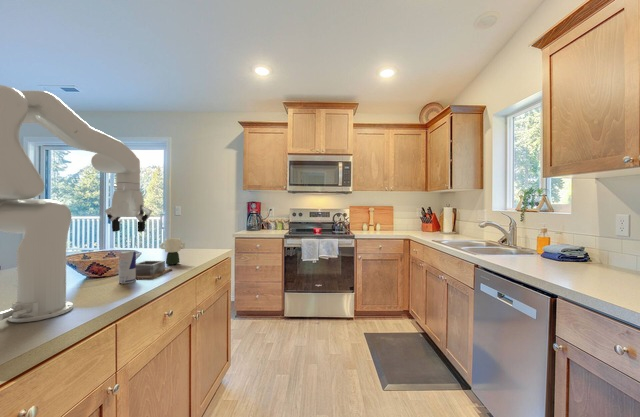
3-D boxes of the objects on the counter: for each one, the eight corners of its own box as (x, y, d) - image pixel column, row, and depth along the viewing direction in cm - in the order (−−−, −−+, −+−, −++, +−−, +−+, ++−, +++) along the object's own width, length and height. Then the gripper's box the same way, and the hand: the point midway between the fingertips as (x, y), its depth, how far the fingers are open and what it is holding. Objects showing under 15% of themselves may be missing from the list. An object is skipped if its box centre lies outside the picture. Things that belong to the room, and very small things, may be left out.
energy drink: (138, 280, 108) (139, 250, 108) (128, 284, 103) (128, 252, 103) (126, 279, 109) (126, 250, 108) (115, 283, 103) (115, 252, 103)
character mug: (186, 262, 142) (186, 238, 142) (182, 265, 135) (182, 239, 135) (163, 263, 140) (163, 238, 140) (158, 266, 133) (158, 240, 133)
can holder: (151, 279, 110) (151, 267, 110) (121, 279, 110) (121, 266, 109) (172, 270, 126) (172, 259, 126) (146, 269, 125) (146, 259, 125)
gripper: (98, 187, 101) (98, 232, 102) (144, 187, 102) (144, 232, 102) (113, 188, 109) (113, 230, 109) (156, 188, 109) (156, 230, 110)
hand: (128, 231), depth 106 cm, fingers open, 9 cm apart
